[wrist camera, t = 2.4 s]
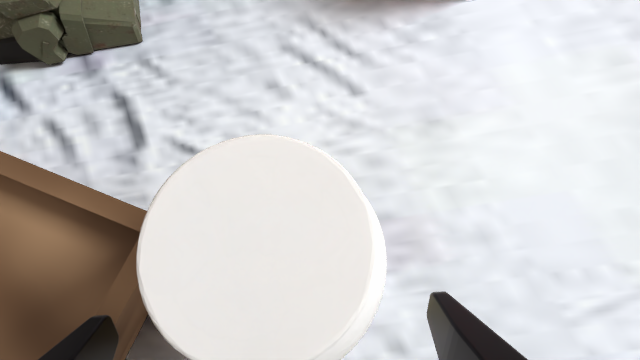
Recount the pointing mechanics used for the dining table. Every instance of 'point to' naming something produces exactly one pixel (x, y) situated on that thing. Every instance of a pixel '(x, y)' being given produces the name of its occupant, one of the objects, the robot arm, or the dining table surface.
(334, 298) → the supplement bottle
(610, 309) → the dining table surface
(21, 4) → the mechanical leg
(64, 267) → the walnut tray
